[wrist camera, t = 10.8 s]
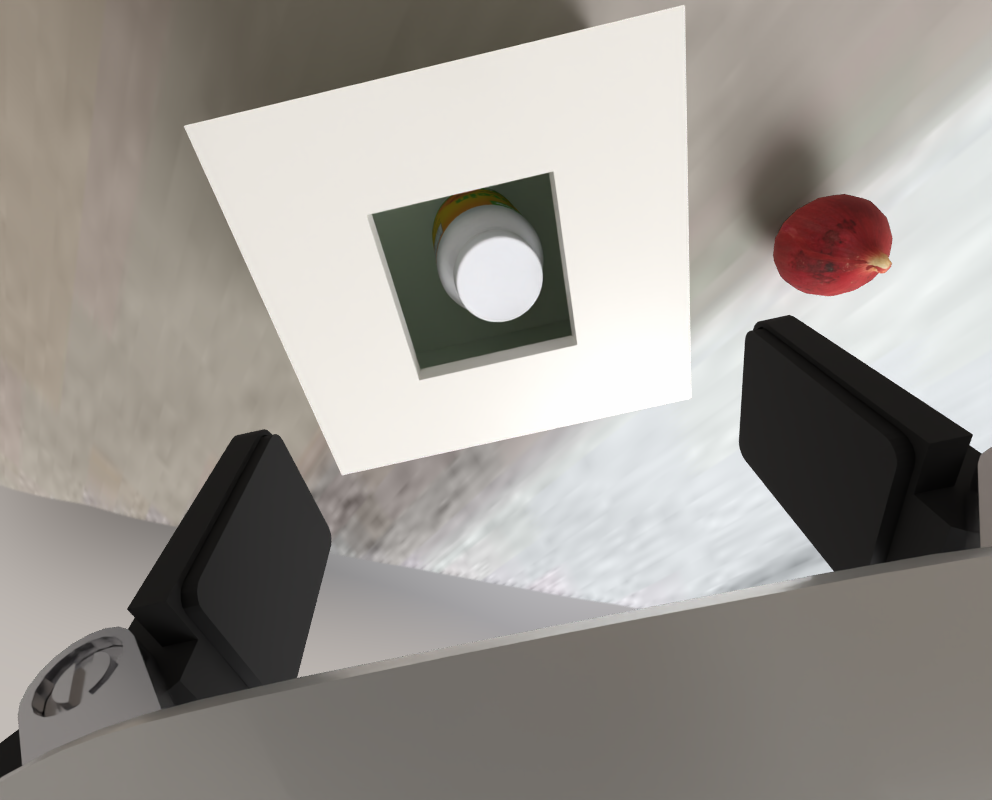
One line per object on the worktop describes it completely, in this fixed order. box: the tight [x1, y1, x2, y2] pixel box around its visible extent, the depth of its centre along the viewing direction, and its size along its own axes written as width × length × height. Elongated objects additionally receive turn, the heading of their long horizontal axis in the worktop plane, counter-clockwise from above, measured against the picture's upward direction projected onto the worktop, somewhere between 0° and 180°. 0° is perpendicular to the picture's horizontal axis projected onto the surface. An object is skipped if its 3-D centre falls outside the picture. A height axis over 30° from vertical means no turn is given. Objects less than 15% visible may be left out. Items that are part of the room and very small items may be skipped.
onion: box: [773, 194, 892, 296], centre depth 31 cm, size 6×6×8 cm
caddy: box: [184, 5, 691, 475], centre depth 27 cm, size 16×18×12 cm
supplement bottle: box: [432, 187, 544, 322], centre depth 27 cm, size 5×5×10 cm
